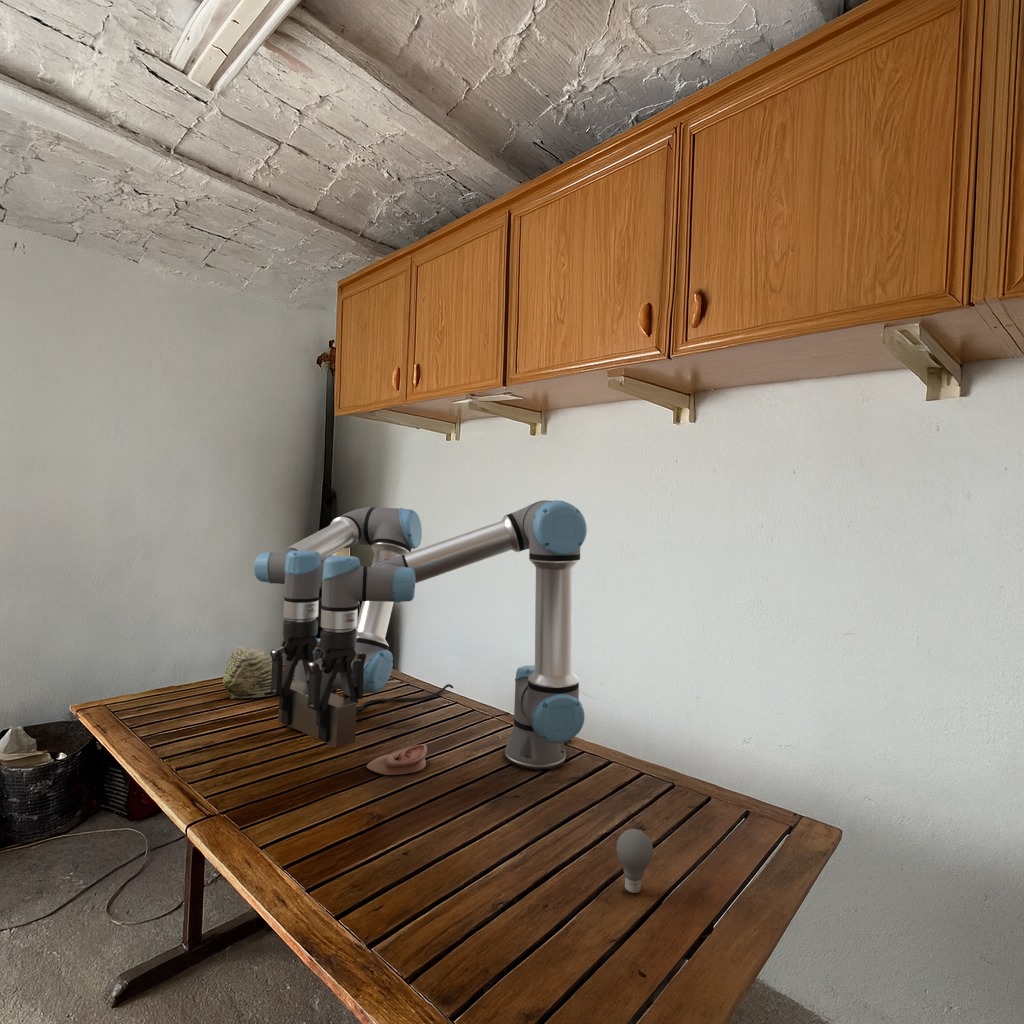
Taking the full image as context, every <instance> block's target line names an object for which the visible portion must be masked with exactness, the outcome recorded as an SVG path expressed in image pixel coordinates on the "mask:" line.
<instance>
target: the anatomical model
mask: <svg viewBox="0 0 1024 1024" xmlns="http://www.w3.org/2000/svg"><path fill="white" fill-rule="evenodd" d="M427 754H428V747H427V745H426V744H424V743H421V744H416V745H413V746H409V747H405V748H403V749H401V750H397V751H395V752H392V753H389V754H385V755H382V756H381V755H380V756H379V757H377V758H375V759H372V760H371V761H370V762H368V763H367V764H366V768H367V770H369V771H371V772H374V773H377V774H379V775H383V776H399V775H406V774H412V773H417V772H419V771H421V770H423V769H424V768H425V767H426V766H427V760H426V756H427Z"/></svg>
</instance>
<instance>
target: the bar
mask: <svg viewBox="0 0 1024 1024" xmlns="http://www.w3.org/2000/svg"><path fill="white" fill-rule="evenodd" d="M308 692H309V684H306V683H304V682H301V681H294V680H293V681H292V683H291V687H290V691H289V695H291V696H292V706H291V725H288V726H290V727H293V728H295V729H297V730H299V731H298V732H301V733H303V734H306V735H308V736H310V737H312V738H314V739H316V740H318V741H321V740H319V739H318V731H319V726H317V725H316V711H315V710H313V709H311V708H308ZM357 705H358V703H356V702H354V701H351V700H349V699H346V698H344V697H343V696H341V695H338V694H337V695H335V694H333V693H331V694H330V698H329V702H328V706H327V710H329V711H330V723H329V742H324V744H327V745H329V746H331V747H333V748H339V747H342V746H345V745H348V744H351V743H355V742H356V731H357V729H356V727H357V711H356V709H357V708H358V707H357ZM277 713H278V714H277V715H278V716H277V721H278V722H279V723H282V722H281V714H282V710H280V709H279V708H278V712H277ZM321 742H322V741H321Z"/></svg>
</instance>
